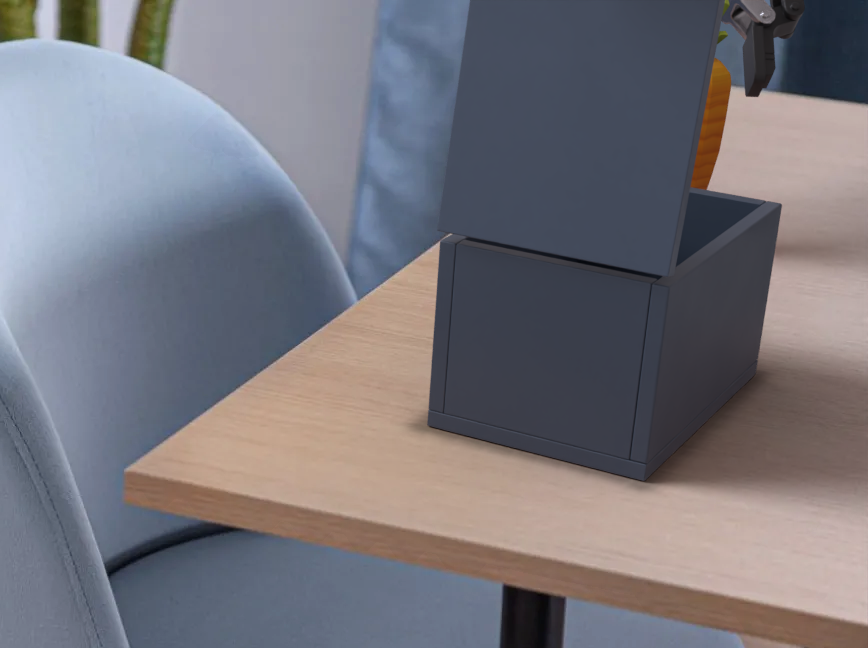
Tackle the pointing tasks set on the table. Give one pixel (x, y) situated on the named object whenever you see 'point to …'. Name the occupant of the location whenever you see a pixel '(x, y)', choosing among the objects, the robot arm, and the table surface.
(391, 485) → the table surface
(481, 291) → the chest
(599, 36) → the lid
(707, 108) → the carrot
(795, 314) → the table surface
